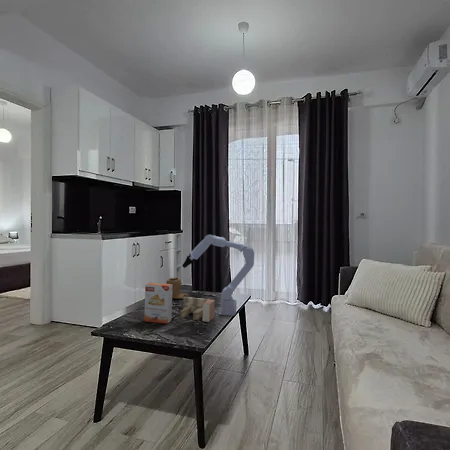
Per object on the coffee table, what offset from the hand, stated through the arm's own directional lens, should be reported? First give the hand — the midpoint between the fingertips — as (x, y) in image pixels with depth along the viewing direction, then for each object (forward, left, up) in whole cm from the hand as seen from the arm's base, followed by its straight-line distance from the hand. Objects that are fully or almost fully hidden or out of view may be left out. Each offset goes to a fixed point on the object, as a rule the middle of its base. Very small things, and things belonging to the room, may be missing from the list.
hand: (184, 265), depth 198 cm
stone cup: (+17, -28, -29) cm, 44 cm away
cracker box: (+5, +24, -29) cm, 37 cm away
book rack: (-9, +8, -28) cm, 31 cm away
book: (-20, +10, -28) cm, 36 cm away
